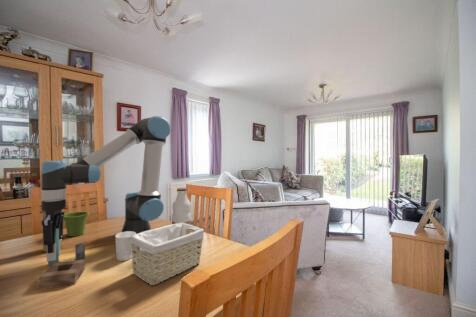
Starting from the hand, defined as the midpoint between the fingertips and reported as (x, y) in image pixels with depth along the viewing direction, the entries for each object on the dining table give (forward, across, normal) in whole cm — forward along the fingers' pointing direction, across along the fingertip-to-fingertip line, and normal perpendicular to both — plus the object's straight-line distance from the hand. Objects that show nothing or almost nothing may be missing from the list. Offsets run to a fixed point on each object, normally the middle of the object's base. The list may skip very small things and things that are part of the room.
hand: (53, 258), depth 88 cm
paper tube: (+3, -17, -7) cm, 19 cm away
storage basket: (+3, +16, +44) cm, 47 cm away
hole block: (+3, +13, +8) cm, 15 cm away
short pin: (+3, 0, +9) cm, 9 cm away
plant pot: (+3, -36, -4) cm, 36 cm away
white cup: (+3, +1, +26) cm, 26 cm away
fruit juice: (+3, -7, +50) cm, 51 cm away
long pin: (+3, 0, 0) cm, 3 cm away
